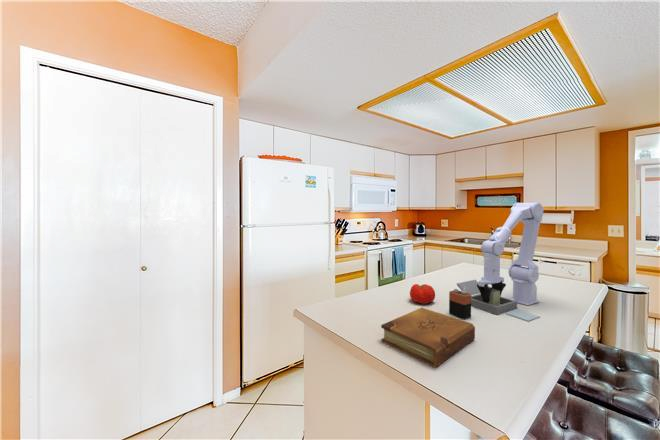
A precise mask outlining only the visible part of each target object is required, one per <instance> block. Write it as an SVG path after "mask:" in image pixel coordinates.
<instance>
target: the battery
mask: <svg viewBox="0 0 660 440" xmlns="http://www.w3.org/2000/svg"><path fill="white" fill-rule="evenodd" d="M448 297H449V299H448V301H449V303H448V313H449V314H450V315H452V316H454V317H456V318H458V319H461V320H467V319H470V318H471V317H472V306H471V294H469V293H467V292H466V291H461V290H459V289H457V288H453V290H450V291H449V293H448Z"/></svg>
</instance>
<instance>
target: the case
mask: <svg viewBox="0 0 660 440" xmlns="http://www.w3.org/2000/svg"><path fill="white" fill-rule="evenodd" d="M477 284H479V281H477V280H476V279H473V280H468V281H463V282H457V283H456V286H457V287H458V288H459V290H460V291H466V292H467V293H469V294H471V308H474V309H478V310H480V311H484V312H486V313H490V314H493V315H496V316H499V315H501V314H506V313H507V312H510V311H513V310H517V309H518V303H517V301H514V300H510V298H507V297H502V296H501V297H500V305H498V306H494V305H490V304H487V303H484V302H483V300H482V297H481V293H480V291H479V289H478V287H477Z"/></svg>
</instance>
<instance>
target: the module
mask: <svg viewBox="0 0 660 440" xmlns="http://www.w3.org/2000/svg"><path fill="white" fill-rule="evenodd" d="M484 303H485V302H484ZM487 304H490V305H494V306H498V305H501V304H500V291H498V290H496V289H492V290H491V293H490V298H489V303H487Z"/></svg>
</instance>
